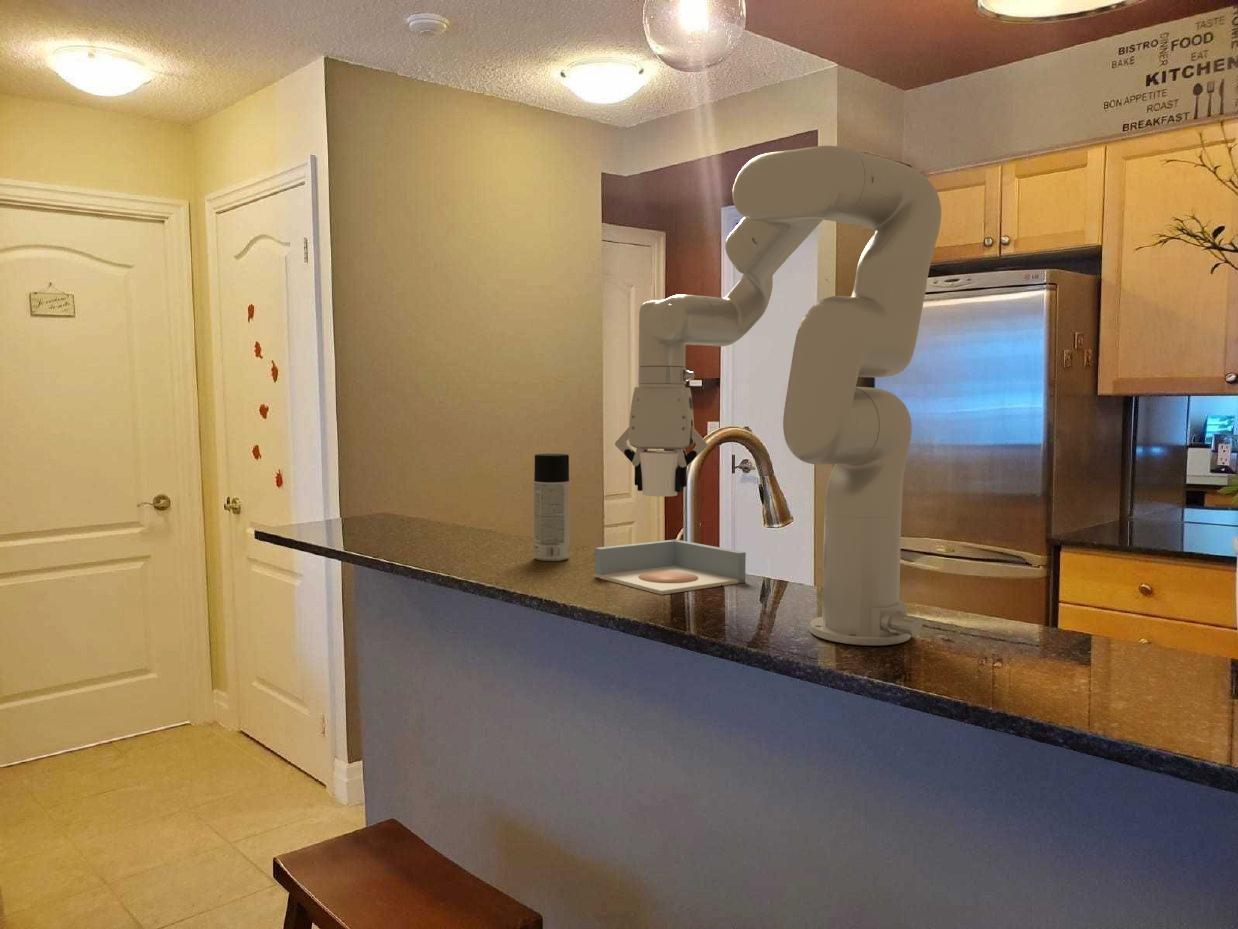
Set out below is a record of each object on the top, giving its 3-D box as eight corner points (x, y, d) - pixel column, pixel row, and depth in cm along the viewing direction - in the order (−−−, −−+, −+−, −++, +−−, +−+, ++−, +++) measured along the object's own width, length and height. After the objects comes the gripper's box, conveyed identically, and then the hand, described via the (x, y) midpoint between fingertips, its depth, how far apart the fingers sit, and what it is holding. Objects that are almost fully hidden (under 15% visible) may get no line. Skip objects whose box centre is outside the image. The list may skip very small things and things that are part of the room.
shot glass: (664, 492, 153) (665, 450, 153) (689, 495, 147) (690, 452, 147) (630, 493, 149) (631, 450, 149) (654, 497, 144) (655, 453, 143)
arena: (745, 582, 153) (745, 552, 152) (661, 594, 142) (661, 562, 142) (675, 566, 167) (675, 539, 167) (594, 577, 156) (594, 548, 156)
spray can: (576, 558, 176) (576, 454, 175) (555, 563, 170) (555, 455, 169) (548, 555, 179) (548, 453, 178) (526, 559, 174) (526, 454, 172)
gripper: (718, 379, 149) (716, 490, 150) (616, 379, 153) (615, 487, 154) (710, 378, 141) (709, 494, 143) (604, 378, 146) (603, 491, 147)
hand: (660, 489), depth 148 cm, fingers closed on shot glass, 5 cm apart
